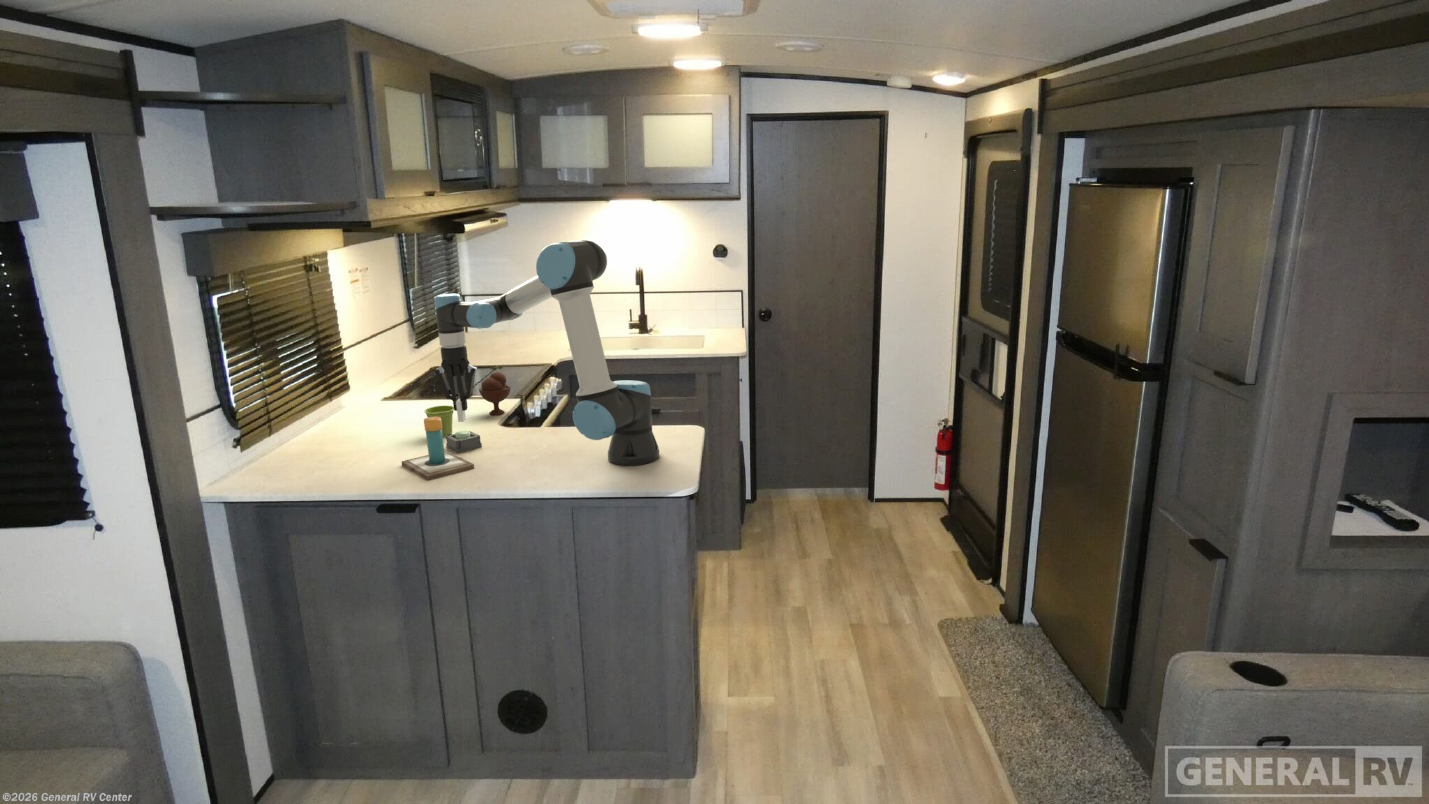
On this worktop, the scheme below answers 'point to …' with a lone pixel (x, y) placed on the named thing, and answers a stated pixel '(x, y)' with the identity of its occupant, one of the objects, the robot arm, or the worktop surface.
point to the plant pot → (442, 417)
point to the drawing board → (437, 466)
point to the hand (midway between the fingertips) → (462, 420)
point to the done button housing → (463, 442)
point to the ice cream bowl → (495, 391)
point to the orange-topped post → (434, 440)
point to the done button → (462, 434)
